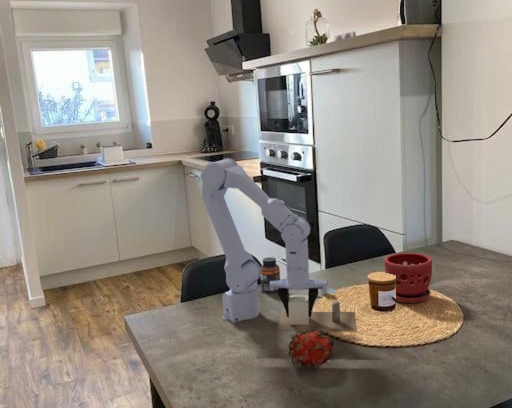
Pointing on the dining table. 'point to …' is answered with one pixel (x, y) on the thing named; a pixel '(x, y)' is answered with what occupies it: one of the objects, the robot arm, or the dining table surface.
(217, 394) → the dining table surface
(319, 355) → the dragon fruit
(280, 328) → the post board
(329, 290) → the pacifier
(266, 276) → the supplement bottle
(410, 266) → the plant pot
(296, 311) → the white hollow block
